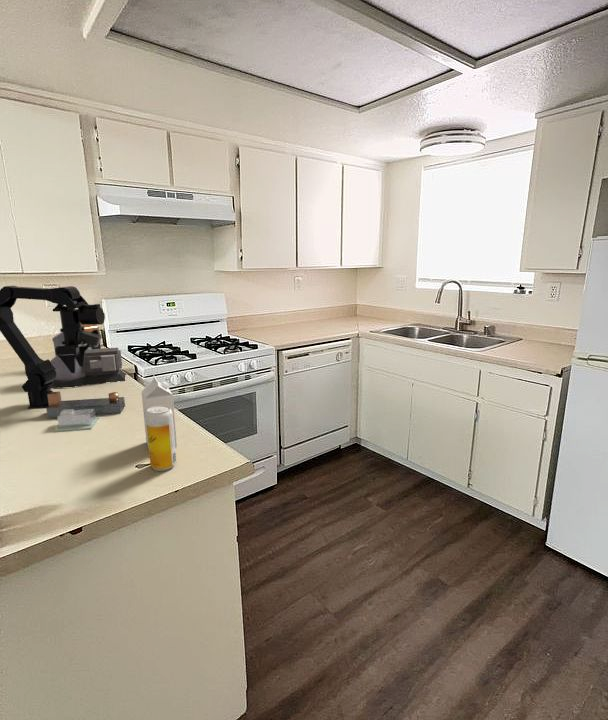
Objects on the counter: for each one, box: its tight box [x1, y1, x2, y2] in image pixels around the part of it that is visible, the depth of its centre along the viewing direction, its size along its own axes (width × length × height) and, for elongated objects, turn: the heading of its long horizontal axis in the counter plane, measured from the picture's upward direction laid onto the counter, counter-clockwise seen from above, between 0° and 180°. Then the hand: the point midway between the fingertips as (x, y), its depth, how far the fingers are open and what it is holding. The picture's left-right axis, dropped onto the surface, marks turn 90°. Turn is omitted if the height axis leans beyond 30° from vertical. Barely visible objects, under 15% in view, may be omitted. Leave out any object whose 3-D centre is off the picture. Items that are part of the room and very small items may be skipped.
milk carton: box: [141, 375, 178, 449], centre depth 112 cm, size 7×7×19 cm
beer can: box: [146, 405, 177, 472], centre depth 100 cm, size 6×6×15 cm
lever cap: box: [57, 409, 97, 428], centre depth 127 cm, size 9×5×4 cm, turn 102°
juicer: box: [50, 332, 127, 389], centre depth 171 cm, size 30×16×24 cm, turn 111°
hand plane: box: [45, 391, 126, 419], centre depth 137 cm, size 22×7×8 cm, turn 102°
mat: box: [54, 416, 100, 433], centre depth 127 cm, size 10×9×1 cm
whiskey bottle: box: [81, 299, 102, 350], centre depth 191 cm, size 10×10×32 cm
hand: (77, 369), depth 142 cm, fingers open, 9 cm apart
